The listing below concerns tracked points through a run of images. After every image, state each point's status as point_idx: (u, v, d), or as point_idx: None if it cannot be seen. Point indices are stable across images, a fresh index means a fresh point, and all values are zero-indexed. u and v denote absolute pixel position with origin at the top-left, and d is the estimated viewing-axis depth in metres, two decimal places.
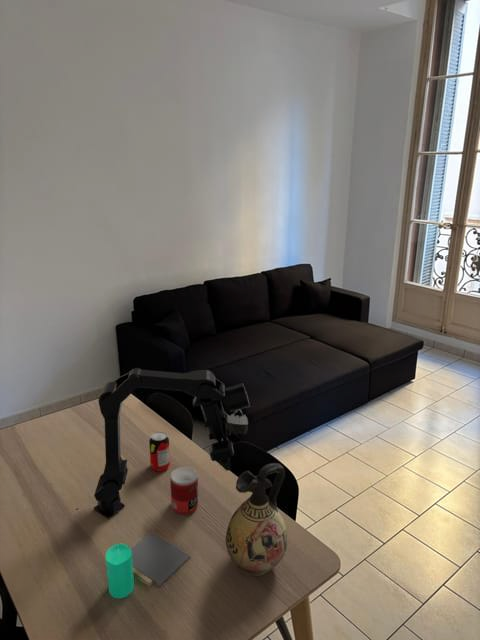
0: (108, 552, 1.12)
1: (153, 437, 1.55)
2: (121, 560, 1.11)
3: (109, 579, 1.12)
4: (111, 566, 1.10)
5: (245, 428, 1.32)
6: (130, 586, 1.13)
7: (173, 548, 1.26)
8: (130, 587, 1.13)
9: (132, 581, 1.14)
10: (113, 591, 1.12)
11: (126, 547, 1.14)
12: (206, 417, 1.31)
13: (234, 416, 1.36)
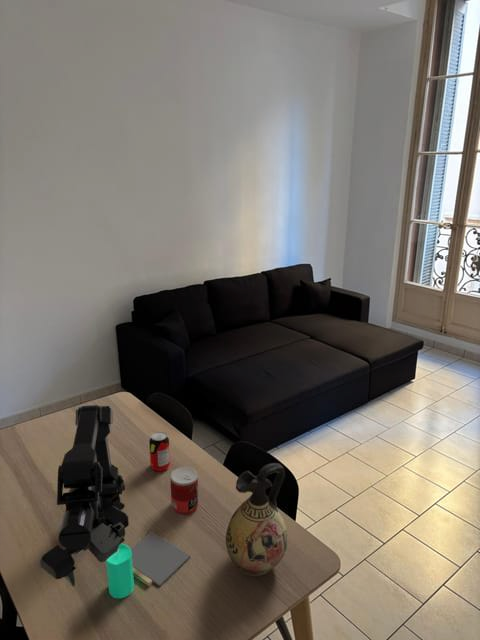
0: None
1: (153, 437, 1.55)
2: (121, 560, 1.11)
3: (109, 579, 1.12)
4: (111, 566, 1.10)
5: (101, 556, 0.95)
6: (130, 586, 1.13)
7: (173, 548, 1.26)
8: (130, 587, 1.13)
9: (132, 581, 1.14)
10: (113, 591, 1.12)
11: (126, 547, 1.14)
12: None
13: (108, 529, 0.99)
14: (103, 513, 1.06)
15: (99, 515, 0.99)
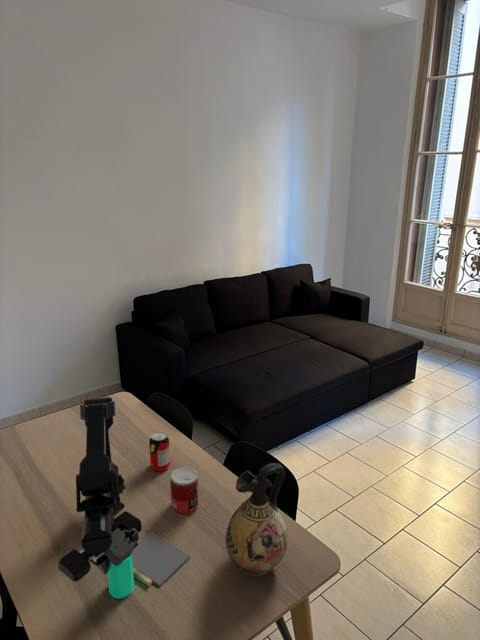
0: None
1: (153, 437, 1.55)
2: None
3: (109, 579, 1.12)
4: (111, 566, 1.10)
5: (116, 560, 1.00)
6: (130, 586, 1.13)
7: (173, 548, 1.26)
8: (130, 587, 1.13)
9: (132, 581, 1.14)
10: (113, 591, 1.12)
11: None
12: None
13: (122, 534, 1.04)
14: (117, 518, 1.11)
15: (114, 521, 1.04)
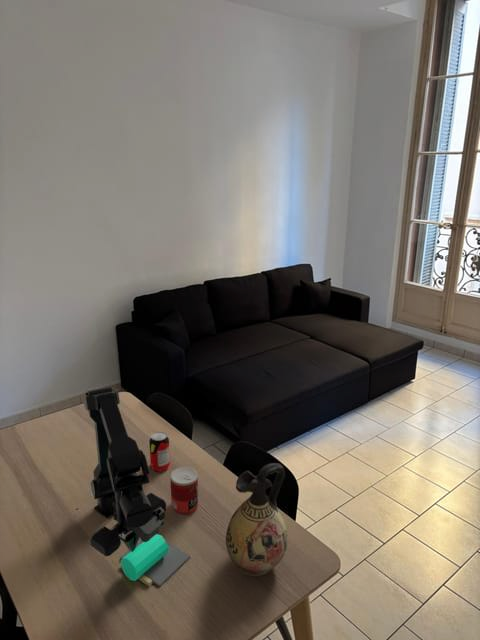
0: None
1: (153, 437, 1.55)
2: None
3: (143, 547, 1.19)
4: (159, 539, 1.22)
5: (144, 536, 1.06)
6: (143, 572, 1.16)
7: (173, 548, 1.26)
8: (142, 572, 1.16)
9: (143, 573, 1.17)
10: (136, 557, 1.16)
11: None
12: None
13: None
14: None
15: None
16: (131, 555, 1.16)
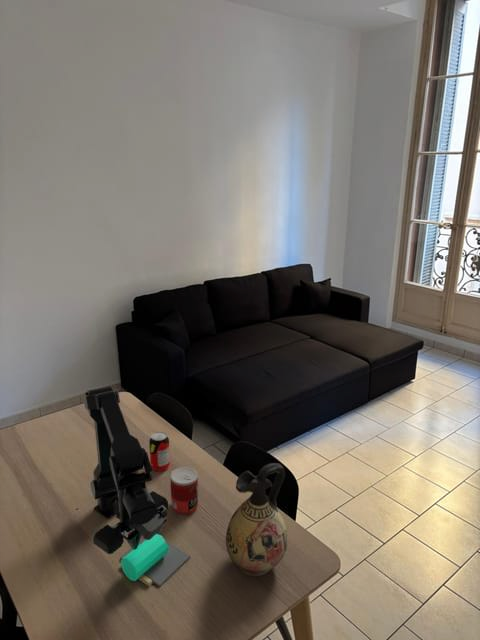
0: None
1: (153, 437, 1.55)
2: None
3: (143, 547, 1.19)
4: (159, 539, 1.22)
5: (147, 534, 1.07)
6: (143, 572, 1.16)
7: (173, 548, 1.26)
8: (142, 572, 1.16)
9: (143, 573, 1.17)
10: (136, 557, 1.16)
11: None
12: None
13: None
14: None
15: None
16: (131, 555, 1.16)
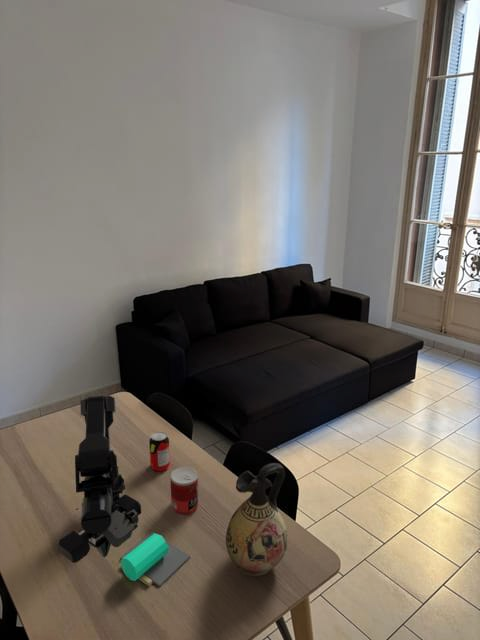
0: None
1: (153, 437, 1.55)
2: None
3: (143, 547, 1.19)
4: (159, 539, 1.22)
5: (115, 541, 0.99)
6: (143, 572, 1.16)
7: (173, 548, 1.26)
8: (142, 572, 1.16)
9: (143, 573, 1.17)
10: (136, 557, 1.16)
11: None
12: None
13: (121, 516, 1.03)
14: (117, 501, 1.10)
15: (113, 502, 1.03)
16: (131, 555, 1.16)
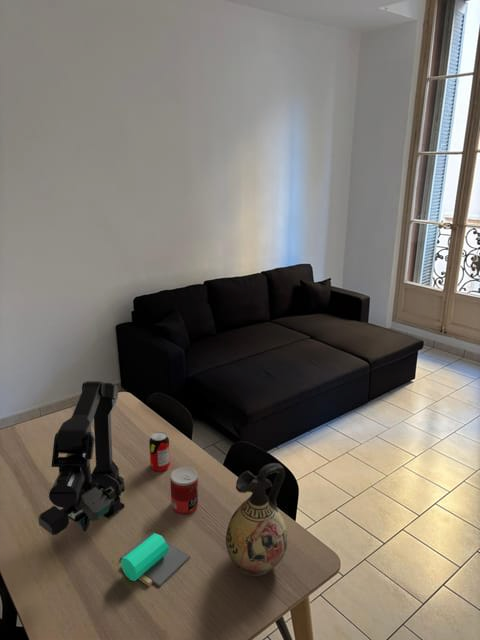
0: None
1: (153, 437, 1.55)
2: None
3: (143, 547, 1.19)
4: (159, 539, 1.22)
5: (92, 515, 1.06)
6: (143, 572, 1.16)
7: (173, 548, 1.26)
8: (142, 572, 1.16)
9: (143, 573, 1.17)
10: (136, 557, 1.16)
11: None
12: None
13: (99, 492, 1.09)
14: (96, 480, 1.17)
15: (92, 480, 1.10)
16: (131, 555, 1.16)
